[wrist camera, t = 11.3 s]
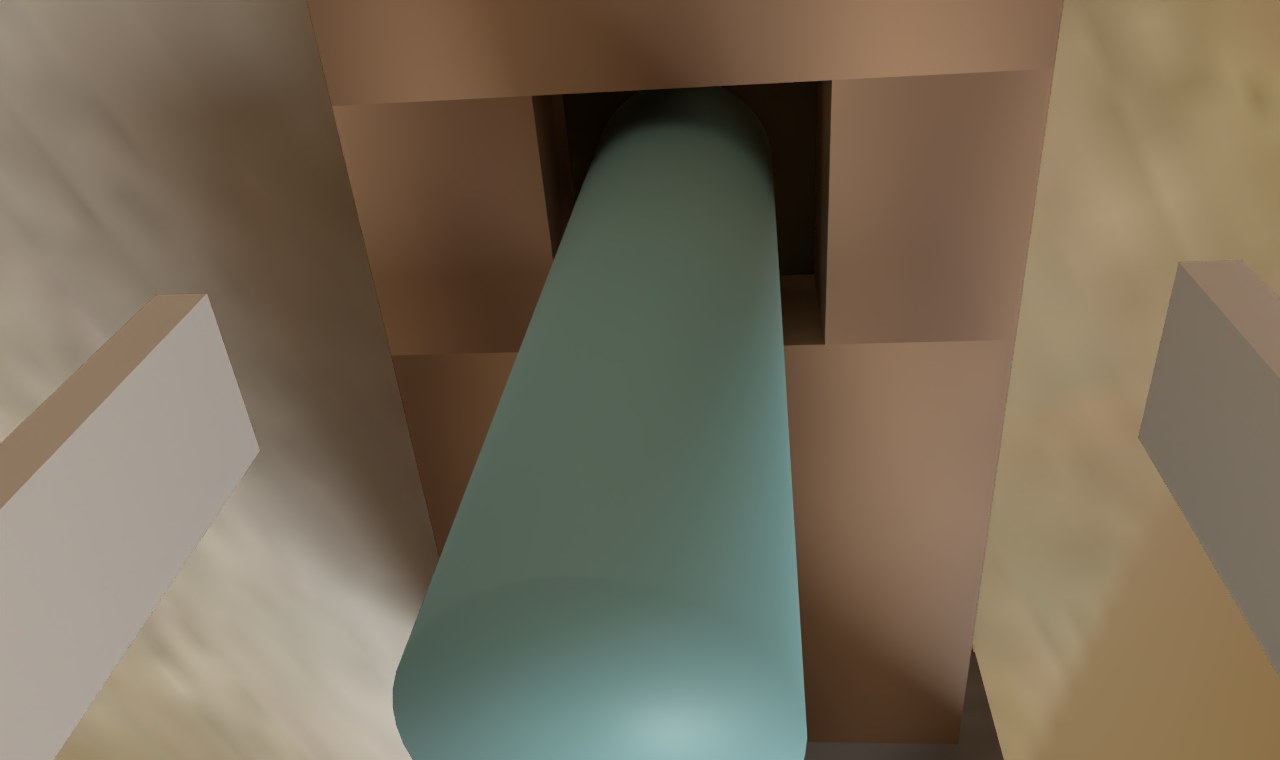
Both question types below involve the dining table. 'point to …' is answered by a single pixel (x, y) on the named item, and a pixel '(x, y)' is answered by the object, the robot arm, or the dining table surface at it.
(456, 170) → the socket station
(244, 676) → the dining table surface
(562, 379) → the peg
